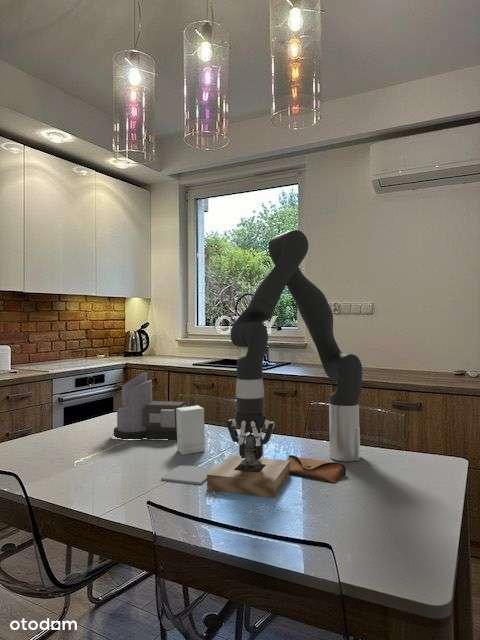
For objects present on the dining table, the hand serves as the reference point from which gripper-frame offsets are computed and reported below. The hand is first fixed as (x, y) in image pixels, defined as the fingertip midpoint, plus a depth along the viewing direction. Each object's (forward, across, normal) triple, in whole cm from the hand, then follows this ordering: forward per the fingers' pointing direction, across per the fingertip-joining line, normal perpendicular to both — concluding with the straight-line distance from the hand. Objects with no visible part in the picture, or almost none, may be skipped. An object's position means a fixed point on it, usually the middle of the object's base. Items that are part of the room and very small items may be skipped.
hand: (251, 457), depth 126 cm
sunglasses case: (+7, -14, -11) cm, 20 cm away
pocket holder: (+7, 0, 0) cm, 7 cm away
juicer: (+7, +52, -37) cm, 64 cm away
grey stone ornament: (+5, 0, 0) cm, 5 cm away
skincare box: (+7, +28, -22) cm, 36 cm away
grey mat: (+6, +18, 0) cm, 19 cm away
